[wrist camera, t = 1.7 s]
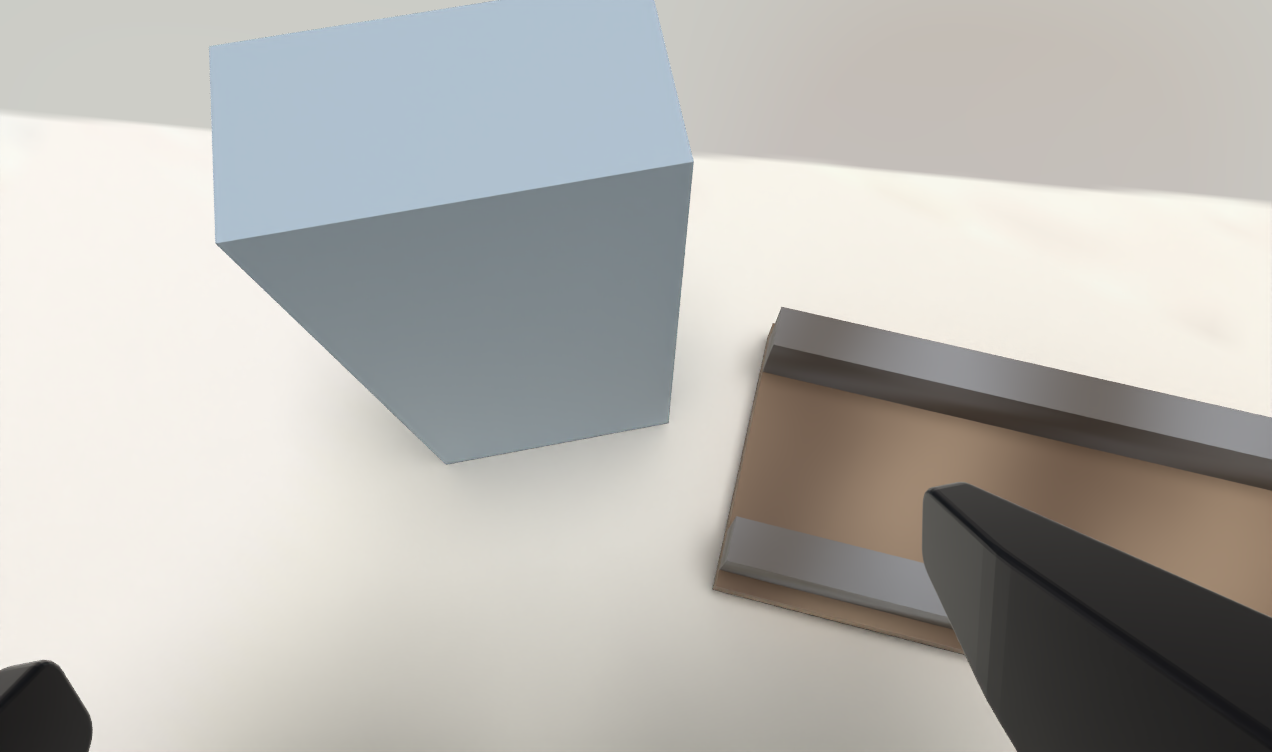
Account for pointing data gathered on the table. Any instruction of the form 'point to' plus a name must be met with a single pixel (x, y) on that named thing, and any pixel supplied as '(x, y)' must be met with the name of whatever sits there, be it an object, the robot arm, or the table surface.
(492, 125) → the door panel
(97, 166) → the table surface
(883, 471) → the floor track
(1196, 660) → the robot arm
